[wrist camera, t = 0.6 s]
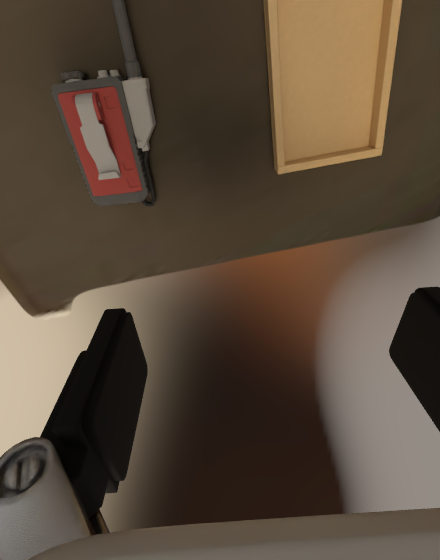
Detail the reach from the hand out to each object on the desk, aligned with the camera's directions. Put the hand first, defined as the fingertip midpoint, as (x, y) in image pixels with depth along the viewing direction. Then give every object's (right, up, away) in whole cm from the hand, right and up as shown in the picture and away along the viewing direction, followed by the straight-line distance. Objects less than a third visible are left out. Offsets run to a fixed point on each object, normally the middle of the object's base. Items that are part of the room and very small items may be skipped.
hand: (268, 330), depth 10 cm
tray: (+9, +22, +18) cm, 30 cm away
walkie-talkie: (-13, +19, +20) cm, 30 cm away
